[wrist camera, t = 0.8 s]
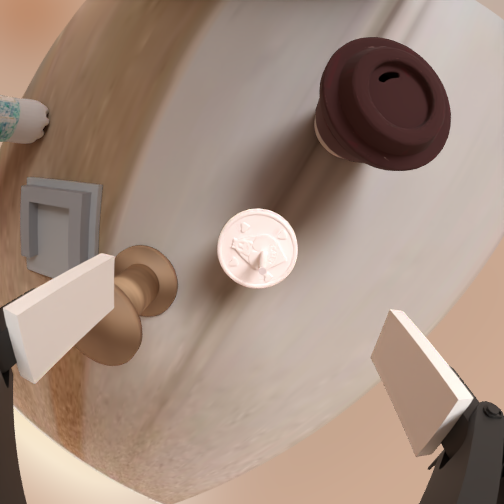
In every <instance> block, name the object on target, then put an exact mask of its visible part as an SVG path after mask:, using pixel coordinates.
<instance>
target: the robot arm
mask: <svg viewBox="0 0 504 504" xmlns="http://www.w3.org/2000/svg"><path fill="white" fill-rule="evenodd" d="M114 260H115V256H112V255H108V254H104V253H101V254H99V255H97V256H95V257H93V258H91V259H89V260H87V261H85V262H83V263H81V264H79V265H77V266H76V267H74V268H72V269H70V270H68V271H66V272H64V273H63V274H61V275H59V276H57V277H55V278H53V279H52V280H50V281H48V282H46V283H45V284H43V285H41V286H39V287H37V288H34V289H31V290H30V291H28V292H26V293H24V295H21V296H19V297H17V299H14V300H12V301H11V302H9V303H7V304H6V305H4V306H2V307H1V308H0V504H27V503H26V499H25V495H24V491H23V486H22V481H21V476H20V470H19V464H18V458H17V450H16V441H15V430H14V414H13V372H12V369H11V367H12V366H13V365H15V364H16V363H17V366H18V370H19V373H20V376H22V377H23V378H25V379H26V380H28V381H30V382H32V383H33V384H36V383H37V382H38V381H39V380H40V379H41V378H42V377H43V376H44V375H45V374H46V373H47V372H48V371H49V370H50V369H51V368H52V367H53V366H54V365H55V364H56V363H57V362H58V361H59V360H60V359H61V358H62V357H63V356H64V355H65V354H66V353H67V352H68V351H69V350H70V349H71V348H72V347H73V346H74V345H75V344H76V343H77V342H78V341H79V340H80V339H81V338H82V337H83V336H85V335H86V334H87V333H88V332H89V331H90V330H91V329H92V328H93V327H94V326H95V325H96V324H97V323H98V322H99V321H101V320H102V319H103V318H104V317H105V316H106V315H107V314H108V313H109V312H110V311H111V310H112V309H114ZM371 359H372V361H373V363H374V365H375V367H376V369H377V372H378V374H379V376H380V378H381V380H382V382H383V384H384V386H385V388H386V390H387V392H388V395H389V397H390V399H391V401H392V403H393V406H394V408H395V410H396V412H397V414H398V417H399V419H400V421H401V423H402V425H403V428H404V430H405V432H406V435H407V437H408V439H409V442H410V444H411V446H412V449H413V451H414V454H415V456H416V457H418V456H424V455H430V454H432V453H433V452H434V451H435V450H436V449H437V447H438V446H439V445H440V444H442V446H443V448H444V450H443V451H442V453H441V454H440V455H439V456H438V457H437V458H436V459H435V460H434V462H433V463H432V464H431V465H430V466H429V467H428V469H429V470H430V469H431V468H432V467H433V466H435V468H434V471H433V473H432V476H431V478H430V481H429V483H428V485H427V488H426V490H425V492H424V494H423V497H422V499H421V501H420V503H419V504H504V416H503V413H502V411H501V410H500V409H499V408H498V407H497V406H496V405H494V404H492V403H490V402H487V401H485V402H480V403H479V402H478V400H477V399H476V397H475V396H474V395H473V393H472V392H471V391H470V390H469V388H468V387H467V385H466V384H464V382H463V380H462V379H461V378H459V375H458V374H457V373H456V371H455V370H454V369H453V368H452V367H450V366H449V365H448V364H447V363H446V362H445V360H444V359H443V358H442V357H441V355H440V354H439V353H438V352H437V350H436V349H435V348H434V347H433V346H432V345H431V343H430V342H429V341H428V340H427V338H426V337H425V336H424V335H423V334H422V333H421V331H420V330H419V329H418V328H417V327H416V326H415V324H414V323H413V322H412V321H411V320H410V319H409V318H408V316H407V315H406V314H405V313H404V312H403V311H399V310H392V309H390V310H389V313H388V315H387V318H386V321H385V323H384V326H383V328H382V331H381V333H380V336H379V338H378V341H377V343H376V346H375V348H374V350H373V353H372V355H371Z"/></svg>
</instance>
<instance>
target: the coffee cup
mask: <svg viewBox="0 0 504 504" xmlns="http://www.w3.org/2000/svg"><path fill="white" fill-rule="evenodd" d="M315 115H316V116H315V122H314V127H315V132H316V136H317V138H318V140H319V142H320V143H321V145H322V146H323V147H324V148H325V149H326V150H327V151H328V152H329V153H331V154H332V155H334V156H336V157H339V158H342V159H346V160H349V161H353V162H360V163H366V164H368V165H370V166H373V167H376V168H379V169H383V170H390V171H406V170H413V169H417V168H419V167H422V166H424V165H426V164H428V163H429V162H430V161H432V160H433V159H434V158H435V157H436V156H437V155H438V154H439V153H440V151H441V150H442V149H443V147H444V145H445V143H446V140H447V138H448V135H449V130H450V123H451V112H450V105H449V101H448V97H447V94H446V91H445V89H444V86H443V84H442V82H441V81H440V79H439V77H438V75H437V74H436V73H435V71H434V70H433V69H432V67H431V66H430V65H429V64H428V63H427V62H426V61H425V60H424V59H423V58H422V57H421V56H420V55H418V54H417V53H416V52H414V51H413V50H412V49H410V48H408V47H407V46H405V45H403V44H400V43H398V42H395V41H392V40H389V39H385V38H378V37H368V38H360V39H356V40H353V41H350V42H349V43H347V44H345V45H344V46H342V47H341V48H339V49H338V50H337V51H336V52H335V53H334V54H333V56H332V57H331V58H330V60H329V62H328V64H327V66H326V67H325V70H324V72H323V74H322V78H321V82H320V98H319V101H318V104H317V107H316V114H315Z"/></svg>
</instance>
